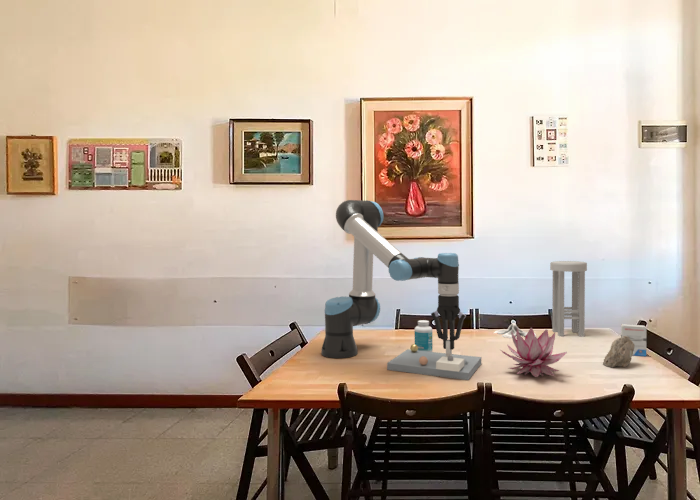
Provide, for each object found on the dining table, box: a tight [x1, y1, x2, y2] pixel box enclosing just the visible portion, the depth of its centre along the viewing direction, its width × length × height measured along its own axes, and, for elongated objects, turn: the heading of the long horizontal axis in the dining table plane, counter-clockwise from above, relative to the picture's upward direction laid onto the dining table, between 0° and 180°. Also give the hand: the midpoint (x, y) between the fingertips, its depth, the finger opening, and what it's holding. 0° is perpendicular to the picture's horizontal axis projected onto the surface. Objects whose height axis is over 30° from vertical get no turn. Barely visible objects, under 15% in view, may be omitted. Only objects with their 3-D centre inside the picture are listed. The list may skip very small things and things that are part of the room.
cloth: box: [493, 322, 537, 340], centre depth 231 cm, size 22×19×6 cm
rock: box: [602, 336, 635, 368], centre depth 176 cm, size 14×10×8 cm
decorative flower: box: [500, 327, 568, 378], centre depth 167 cm, size 21×21×15 cm
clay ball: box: [419, 356, 428, 365], centre depth 171 cm, size 3×3×3 cm
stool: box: [549, 260, 588, 338], centre depth 228 cm, size 16×16×35 cm
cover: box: [436, 356, 464, 372], centre depth 167 cm, size 8×8×4 cm
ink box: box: [620, 323, 648, 357], centre depth 191 cm, size 8×5×12 cm, turn 65°
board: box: [386, 348, 482, 381], centre depth 178 cm, size 30×22×2 cm
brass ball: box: [409, 343, 418, 352], centre depth 190 cm, size 3×3×3 cm
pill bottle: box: [414, 319, 433, 352], centre depth 197 cm, size 8×7×14 cm
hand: (448, 357), depth 175 cm, fingers closed
